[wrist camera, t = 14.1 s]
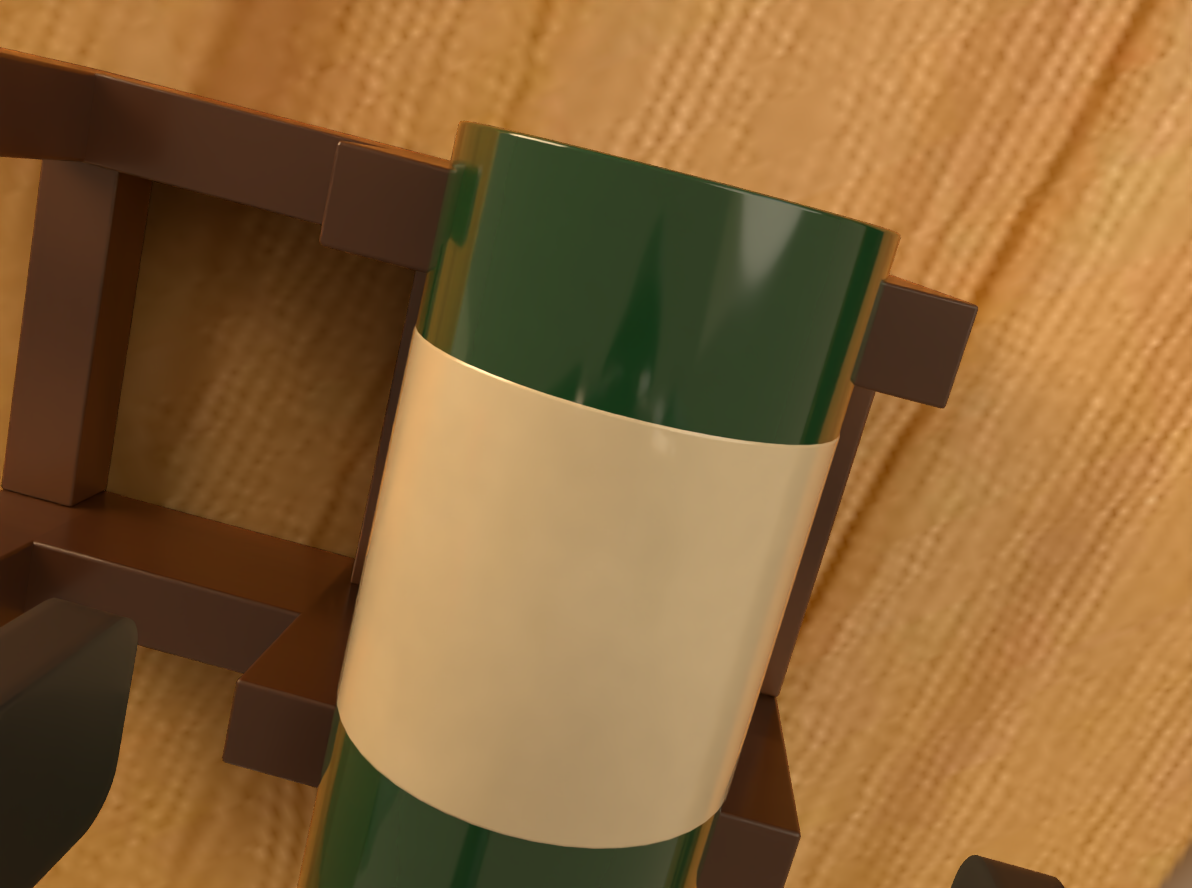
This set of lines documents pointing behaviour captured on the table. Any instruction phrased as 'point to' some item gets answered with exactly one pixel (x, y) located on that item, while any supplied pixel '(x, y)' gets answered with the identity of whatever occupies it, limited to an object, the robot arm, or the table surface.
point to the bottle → (586, 520)
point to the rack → (331, 581)
